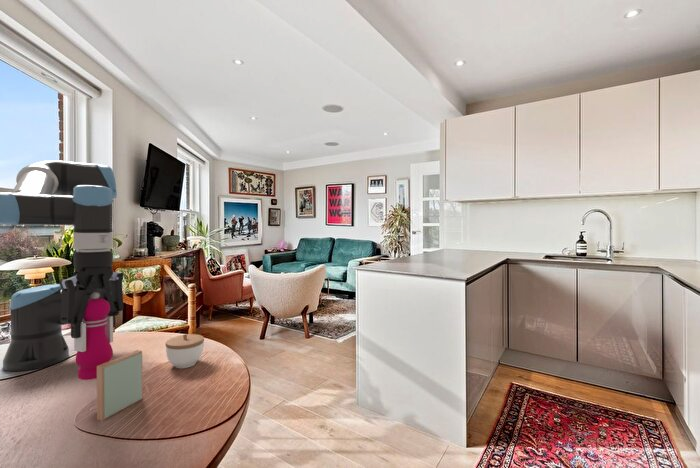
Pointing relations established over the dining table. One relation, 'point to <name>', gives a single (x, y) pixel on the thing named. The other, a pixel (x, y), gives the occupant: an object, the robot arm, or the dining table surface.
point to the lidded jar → (184, 350)
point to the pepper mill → (94, 338)
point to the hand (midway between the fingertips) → (94, 345)
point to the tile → (119, 384)
